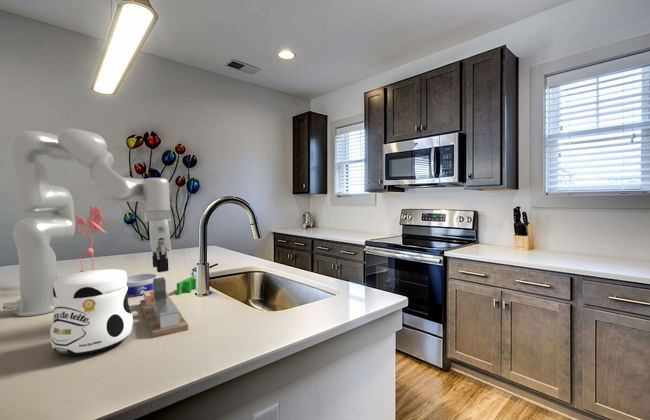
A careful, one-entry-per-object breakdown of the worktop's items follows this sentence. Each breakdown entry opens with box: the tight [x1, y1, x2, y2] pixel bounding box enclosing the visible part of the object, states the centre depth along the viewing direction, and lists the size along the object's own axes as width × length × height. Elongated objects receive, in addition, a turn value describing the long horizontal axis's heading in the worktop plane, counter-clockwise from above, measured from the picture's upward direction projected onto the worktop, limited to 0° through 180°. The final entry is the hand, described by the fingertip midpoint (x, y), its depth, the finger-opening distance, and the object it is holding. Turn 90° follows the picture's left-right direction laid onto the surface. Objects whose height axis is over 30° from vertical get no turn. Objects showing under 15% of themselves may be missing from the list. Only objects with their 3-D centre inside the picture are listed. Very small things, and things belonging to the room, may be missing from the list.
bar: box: [153, 277, 167, 301], centre depth 100 cm, size 20×3×10 cm, turn 34°
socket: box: [143, 290, 169, 305], centre depth 115 cm, size 7×7×3 cm
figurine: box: [74, 204, 107, 272], centre depth 146 cm, size 15×26×35 cm, turn 58°
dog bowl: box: [127, 272, 159, 299], centre depth 131 cm, size 15×15×6 cm
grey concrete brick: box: [153, 297, 180, 329], centre depth 97 cm, size 15×5×4 cm, turn 34°
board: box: [139, 295, 189, 339], centre depth 104 cm, size 34×9×2 cm, turn 34°
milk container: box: [49, 268, 134, 356], centre depth 84 cm, size 17×17×18 cm
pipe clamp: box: [176, 276, 197, 296], centre depth 133 cm, size 11×4×5 cm, turn 173°
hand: (160, 269), depth 106 cm, fingers open, 9 cm apart
